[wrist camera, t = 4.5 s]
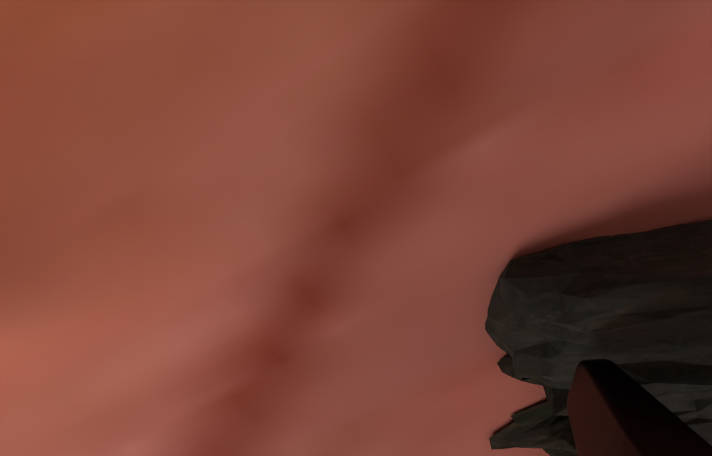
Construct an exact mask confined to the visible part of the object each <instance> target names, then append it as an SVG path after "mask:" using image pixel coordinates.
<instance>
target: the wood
mask: <svg viewBox="0 0 712 456" xmlns="http://www.w3.org/2000/svg"><path fill="white" fill-rule="evenodd" d="M485 329H486V331H487V333H488V334H489V335H490V337H491V338H492V339H493V341H494V342H495V343H496V345H497V346H499V347H500V348H501V349H503V350H504V351H505V352H506V353H508V355H507V356H505V357H503V358H501V359H500V361H499V362H498V363H497V364H498V365H499V367H500V369H501V371H502V372H503V373H505V374H507V375H509V376H511V377H514V378H516V379H518V380H521V381H525V382H529V383H533V384H538V385H542V386H544V389H545V393H546V397H547V400H546V401H543V402H541V403H538V404H536V405H534V406H532V407H530V408H527V409H525V410H523V411H521V412H518V413H516V414H514V415H512V416H511V417H512V419H513V420H514V421H515V422H514V423H512V424H510V425H509V426H507V427H505V428H504V429H502V430H501V431H499V432H498V433H497V434H495V435H494V436H492V437H491V438H489V440H490V444H491V448H492V449H506V448H514V447H520V448H542V449H543V450H544V451H546V452H547V453H548V454H549V455H550V456H578V453H577V449H576V445H575V441H574V436H573V432H572V428H571V424H570V420H569V416H568V410H567V399H568V395H569V391H570V388H571V384H572V381H573V378H574V374H575V371H576V368H577V365H578V364H579V362H580V361H582V360H589V359H608V360H611V361H612V362H614V363H615V364H616V365H618V366H619V367H620V368H621V369H622V370H624V371H625V372H626V373H627V374H628V375H629V376H631V377H632V378H633V379H634V380H635V381H636V382H638V383H639V384H640V385H641V386H642V387H643V388H645V389H646V390H647V391H648V392H649V393H650V394H652V395H653V396H654V397H655V398H656V399H657V400H659V401H660V402H661V403H662V404H663V405H664V406H666V407H667V408H668V409H669V410H670V411H672V412H673V413H674V414H675V415H676V416H677V417H679V418H680V419H681V420H682V421H683V422H684V423H686V424H687V425H688V426H689V427H690V428H691V429H693V430H694V431H695V432H696V433H697V434H698V435H700V436H701V437H702V438H703V439H704V440H705V441H707V442H708V443H709V444H710V445H711V446H712V220H710V221H703V222H697V223H690V224H684V225H677V226H672V227H667V228H663V229H658V230H653V231H648V232H642V233H632V234H621V235H614V236H604V237H597V238H593V239H588V240H583V241H579V242H574V243H570V244H565V245H562V246H558V247H555V248H551V249H548V250H544V251H541V252H537V253H534V254H530V255H527V256H524V257H520V258H517V259H514V260H511V261H510V262H509V264H508V265H507V267H506V268H505V270H504V271H503V272H502V274H501V275H500V277H499V280H498V282H497V285H496V287H495V290H494V292H493V294H492V297H491V301H490V304H489V308H488V318H487V320H486V323H485Z"/></svg>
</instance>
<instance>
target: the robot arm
mask: <svg viewBox="0 0 712 456" xmlns="http://www.w3.org/2000/svg"><path fill="white" fill-rule="evenodd" d="M567 410H568V416H569V420H570V424H571V428H572V432H573V436H574V441H575V445H576V449H577V453H578V456H712V446H711V445H710V444H709V443H708V442H707V441H705V440H704V439H703V438H702V437H701V436H700V435H698V434H697V433H696V432H695V431H694V430H693V429H691V428H690V427H689V426H688V425H687V424H686V423H684V422H683V421H682V420H681V419H680V418H679V417H677V416H676V415H675V414H674V413H673V412H672V411H670V410H669V409H668V408H667V407H666V406H664V405H663V404H662V403H661V402H660V401H659V400H657V399H656V398H655V397H654V396H653V395H652V394H650V393H649V392H648V391H647V390H646V389H645V388H643V387H642V386H641V385H640V384H639V383H638V382H636V381H635V380H634V379H633V378H632V377H631V376H629V375H628V374H627V373H626V372H625V371H624V370H622V369H621V368H620V367H619V366H618V365H616V364H615V363H614V362H612V361H611V360H608V359H589V360H582V361H580V362H579V364H578V365H577V368H576V371H575V374H574V378H573V381H572V384H571V388H570V391H569V395H568V399H567Z"/></svg>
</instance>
